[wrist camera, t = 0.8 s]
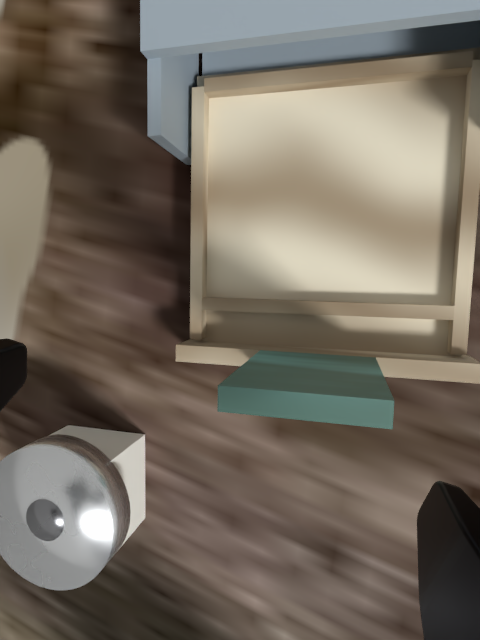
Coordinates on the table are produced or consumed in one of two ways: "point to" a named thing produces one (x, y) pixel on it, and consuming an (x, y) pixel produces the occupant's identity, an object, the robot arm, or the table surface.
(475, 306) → the table surface
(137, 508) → the pedestal
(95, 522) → the disc
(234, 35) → the housing
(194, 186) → the tray
